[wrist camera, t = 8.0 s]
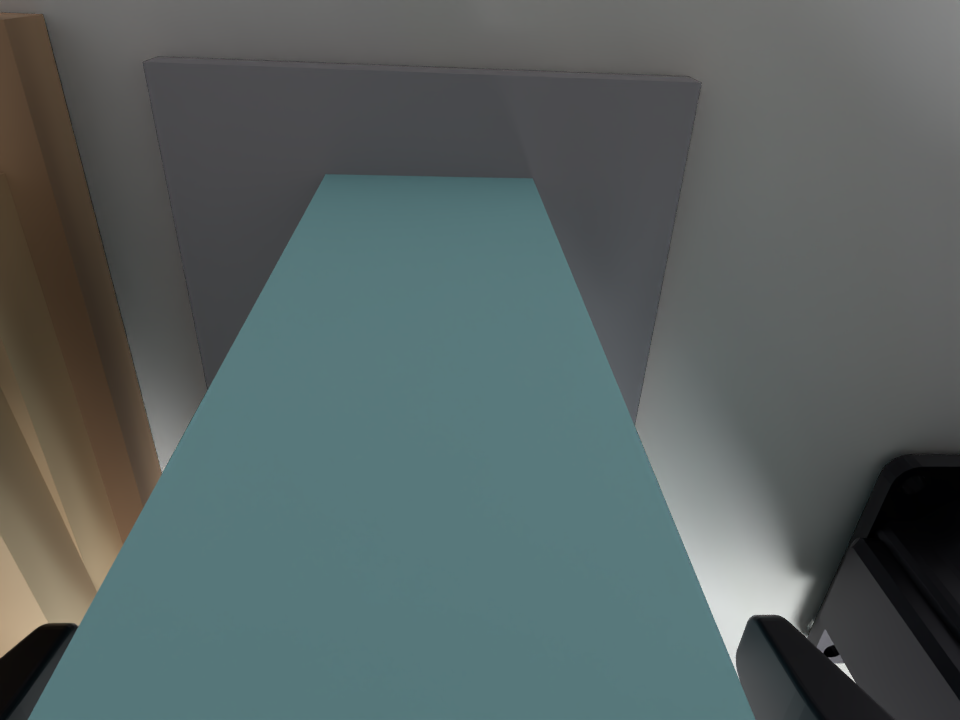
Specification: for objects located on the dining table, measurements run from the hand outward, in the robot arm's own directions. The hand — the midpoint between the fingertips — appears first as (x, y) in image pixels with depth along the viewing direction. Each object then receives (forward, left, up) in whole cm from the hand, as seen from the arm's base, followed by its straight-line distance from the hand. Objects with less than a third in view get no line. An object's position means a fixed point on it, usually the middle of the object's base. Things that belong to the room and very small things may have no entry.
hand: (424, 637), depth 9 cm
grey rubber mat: (0, 0, -5) cm, 5 cm away
